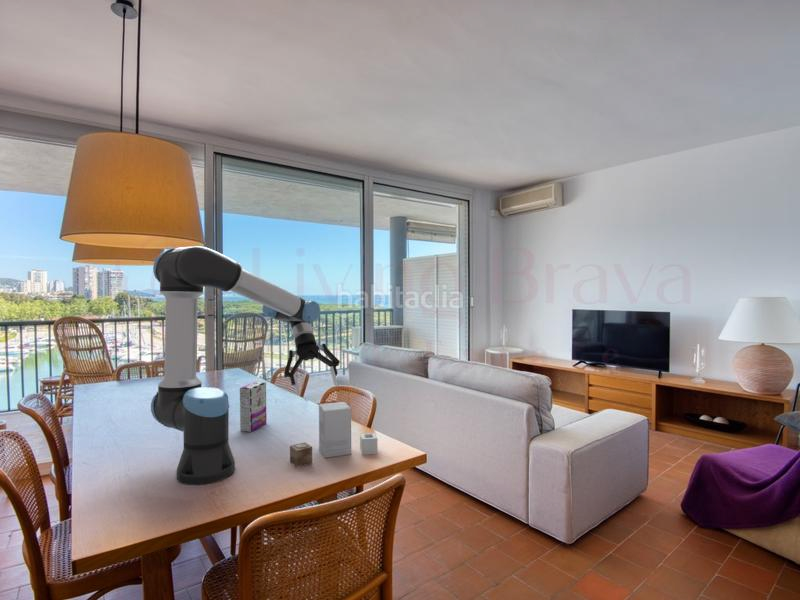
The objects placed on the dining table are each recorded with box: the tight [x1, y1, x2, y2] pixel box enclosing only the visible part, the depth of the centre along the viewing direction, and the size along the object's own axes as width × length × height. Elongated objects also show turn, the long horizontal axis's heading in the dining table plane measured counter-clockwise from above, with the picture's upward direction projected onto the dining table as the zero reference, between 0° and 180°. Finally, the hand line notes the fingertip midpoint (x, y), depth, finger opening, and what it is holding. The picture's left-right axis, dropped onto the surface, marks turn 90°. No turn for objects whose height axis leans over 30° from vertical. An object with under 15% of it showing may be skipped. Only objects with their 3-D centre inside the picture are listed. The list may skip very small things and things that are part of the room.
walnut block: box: [289, 442, 313, 468], centre depth 129 cm, size 5×5×5 cm
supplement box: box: [318, 401, 352, 459], centre depth 138 cm, size 9×9×15 cm
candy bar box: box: [239, 381, 267, 433], centre depth 162 cm, size 11×5×16 cm, turn 168°
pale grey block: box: [359, 432, 378, 455], centre depth 139 cm, size 5×5×5 cm
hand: (317, 388), depth 152 cm, fingers open, 13 cm apart
